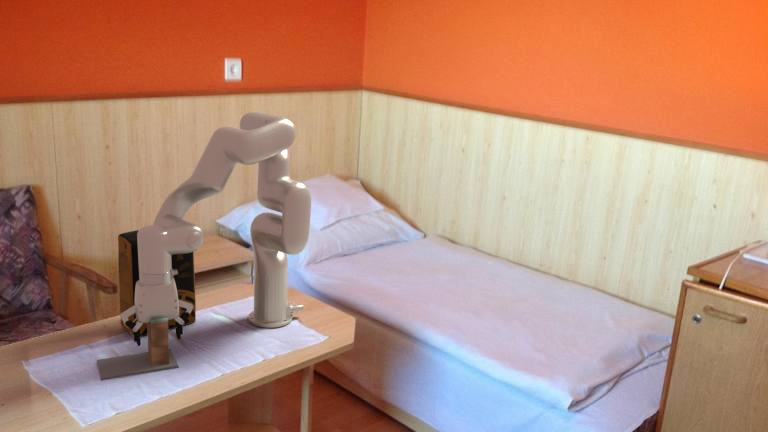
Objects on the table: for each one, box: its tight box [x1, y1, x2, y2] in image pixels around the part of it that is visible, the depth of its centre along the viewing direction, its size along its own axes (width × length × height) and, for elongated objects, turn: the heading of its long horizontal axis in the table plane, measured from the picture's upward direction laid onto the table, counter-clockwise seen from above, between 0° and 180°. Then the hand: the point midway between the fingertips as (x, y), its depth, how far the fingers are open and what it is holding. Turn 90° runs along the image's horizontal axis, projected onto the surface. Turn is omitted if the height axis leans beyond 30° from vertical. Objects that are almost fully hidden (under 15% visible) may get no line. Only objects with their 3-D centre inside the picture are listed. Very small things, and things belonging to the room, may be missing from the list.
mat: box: [96, 347, 180, 381], centre depth 180 cm, size 18×10×1 cm, turn 116°
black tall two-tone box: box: [117, 229, 197, 337], centre depth 199 cm, size 11×19×28 cm, turn 130°
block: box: [147, 317, 170, 366], centre depth 181 cm, size 4×7×12 cm, turn 26°
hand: (158, 340), depth 181 cm, fingers open, 9 cm apart
